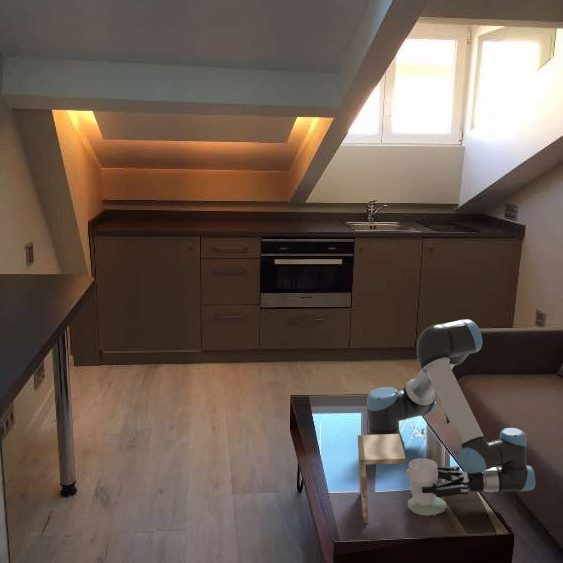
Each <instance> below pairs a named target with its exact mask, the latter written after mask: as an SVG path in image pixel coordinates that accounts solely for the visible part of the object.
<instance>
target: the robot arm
mask: <svg viewBox="0 0 563 563" xmlns="http://www.w3.org/2000/svg"><path fill="white" fill-rule="evenodd" d="M482 336H483V335H482V333H481V330H480V327H478V325H477V324H476V323H475V321H473V320H471V319H469V318H468V319H459V320H454V321H450V322H443V323H438V324H432V325H429V326H428V327H426V328H425V329H423V331H422V332H421V333H420V335H419V337H418V340H417V344H416V356H417V362H418V364H419V367H420V371H419V372H418V373H417V375H416V377H415V378H411V379H410V380H408V381H407V383H406V384H405V385H404V387H402V388H399V389H396V388H395V387H392V386H382V387H377V388H374V389H372V390H371V391H370V392H369V393H368V395H367V398H366V399H367V400H366V401H367V402H366V408H367V424H368V431H367V434H366V435H382V434H399V435H400V439H401V443H402V447H403V450H404V449H405V441H404V439H403V436H402V433H401V431H400V421H404V420H409V419H413V418H415V417H416V418H417V417H422V416H426V415H428V414H430V413H432V412H433V411H434V410H435V409H436V406H437V402H436V401H437V398H438V400H439V402H440V404H441V406H442V408H443V410H444V413H445V415H446V416H447V419H448V420H449V423H450V425H451V427H452V430H453V432H454V434H455V436H456V438H457V440H458V442H459V444H460V446H461V450H460V451H459V453H458V459H459V461H458V462H459V464H460V466H458V465H456V466H448V465H437V470H438V479H441V480H445V481H444V482H440V483H437V484H436V485H435V484H434V483H433V487H432V484H410V483H409V484H410V494H412V493H433V494H436V495H435V496H436V497H439V498H444V497H451V496H458V495H468V494H469V491H470V493H483V492H484V493H485V492H486V493H487V492H489V493H493V492H494V493H495V492H520V493H521V492H529V491H533V490H534V488H535V487H536V476H535V474H536V473H535V471H534V469H533V467H532V466H530V465H527V447H528V444H527V436H526V433H525V431H523V430H521V429H519V428H517V427H505V428H503V429H502V430H501V431H500V432H499V438H498V439H494V440H491V441H487V440H486V438H485V436H484V434H483V432H482V429H481V428H480V425H479V424H478V421H477V420H476V416H474V413H473V411H472V410H471V409H472V408H470V407H471V406H470V405H469V403H468V400H467V398H466V397H465V395H464V393H463V391H462V388H461V386H460V384H459V382H458V380H457V378H456V376H455V374H454V372H453V368H454V367H455V366H457V365H460V364H462V363H463V362H464V361H465V360H466V358H467V357H468V356H469V355H470V354H476V353H477V352H479V351H480V350H482V346H483V337H482ZM404 451H405V450H404ZM460 467H461V468H462V469H463V471H462V470H461V469H460ZM406 478H407V479H409V469H406Z"/></svg>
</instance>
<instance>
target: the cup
mask: <svg viewBox="0 0 563 563" xmlns="http://www.w3.org/2000/svg"><path fill="white" fill-rule="evenodd" d="M437 466H438V463H437V462H436V461H434V460H433V459H429V458H415V459H412V460H410V461H409V462H408V470H409V478H408V479H409V484H432V487H433V483H434V484H435V485H436V484H438V479H439V478H438V470H437ZM411 495H412V497H413V500H414V501H415V502H416V503H418V504H420V505H430V504H432V503H434V502H435V496H436V494H433V493H411Z"/></svg>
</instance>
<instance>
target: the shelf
mask: <svg viewBox="0 0 563 563" xmlns="http://www.w3.org/2000/svg"><path fill="white" fill-rule="evenodd" d="M357 445H358V446H357V448H358V449H357V450H358V464H359V465H358V466H359V485H360V486H359V489H360V500H361V511H362V520H363V523H365V524H367V523H369V505H368V503H369V502H368V485H367V468H366V467H367V466H366V465H389V464H390V465H391V464H392V465H394V464H407V460H406V454H405V450H403V447H402V443H401V439H400V435H399V434H382V435H367V434H358V435H357Z"/></svg>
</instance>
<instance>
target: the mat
mask: <svg viewBox="0 0 563 563" xmlns="http://www.w3.org/2000/svg"><path fill="white" fill-rule="evenodd" d="M407 508H408V509H409V511H411V512H412V513H414V514H416V515H420V516H425V517H429V516H428V515H431V514H433V513H439V512H442V511H444V509H445V508H446V509H447V502H446V501H445V500H444V499H443V498H442V497H436V495H435V502H434V503H432V504H430V505H420V504H418V503H416V502H415V501H414V500H413V496H412V497H411V498H409V499H408V501H407ZM444 512H445V511H444Z"/></svg>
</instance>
